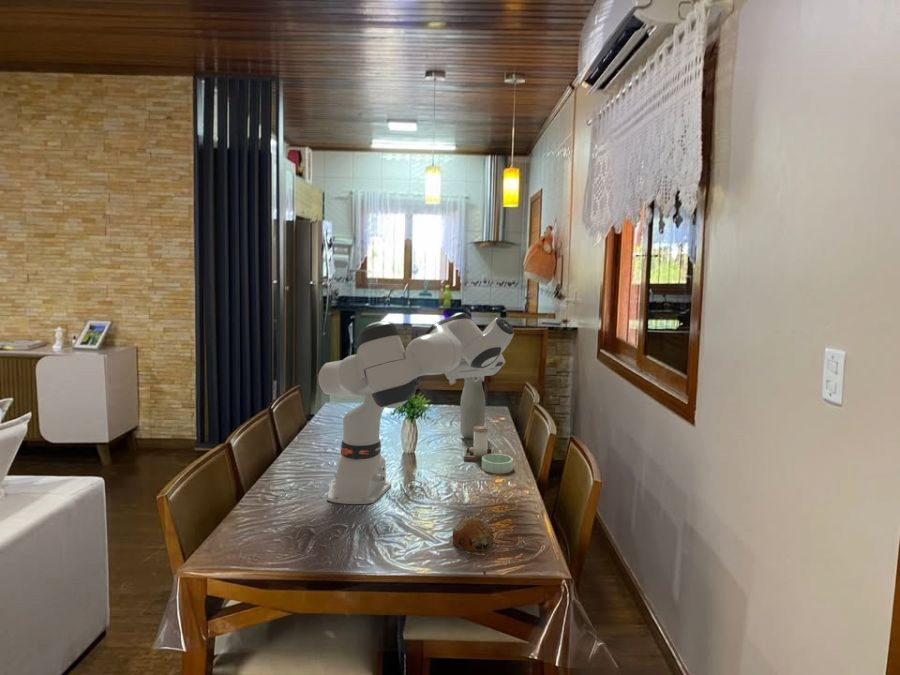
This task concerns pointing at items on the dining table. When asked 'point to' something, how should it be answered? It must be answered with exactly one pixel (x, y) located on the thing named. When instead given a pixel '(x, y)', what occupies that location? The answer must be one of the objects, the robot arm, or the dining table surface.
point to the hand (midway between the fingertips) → (462, 381)
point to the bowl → (497, 463)
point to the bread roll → (472, 535)
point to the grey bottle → (472, 407)
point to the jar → (480, 441)
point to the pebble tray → (477, 459)
